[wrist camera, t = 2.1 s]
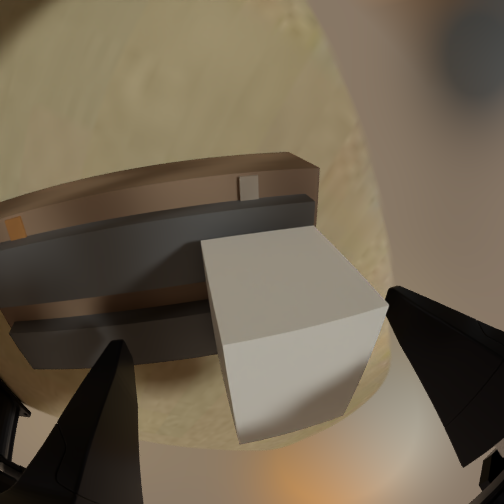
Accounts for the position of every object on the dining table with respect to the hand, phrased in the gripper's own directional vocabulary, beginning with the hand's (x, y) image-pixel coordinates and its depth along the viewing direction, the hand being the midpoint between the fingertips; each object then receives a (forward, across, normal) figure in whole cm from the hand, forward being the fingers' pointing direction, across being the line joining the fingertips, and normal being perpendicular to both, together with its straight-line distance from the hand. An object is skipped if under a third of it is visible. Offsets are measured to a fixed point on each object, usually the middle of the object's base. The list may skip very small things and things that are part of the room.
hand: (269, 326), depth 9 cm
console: (+6, +4, 0) cm, 7 cm away
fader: (+2, 0, 0) cm, 2 cm away
